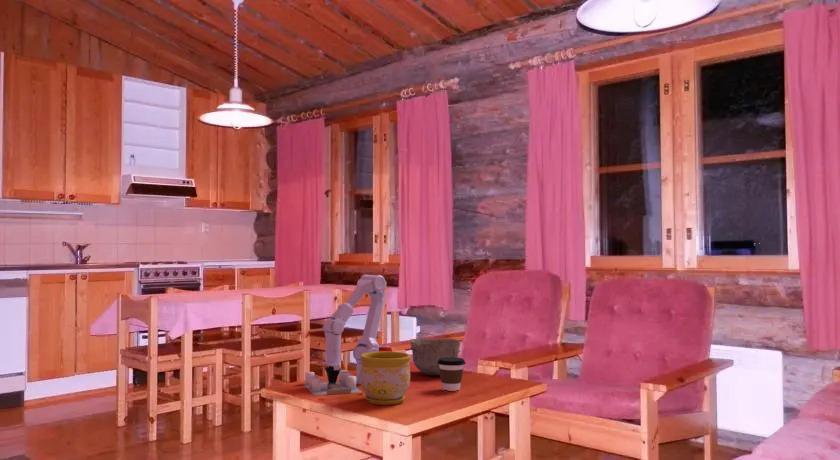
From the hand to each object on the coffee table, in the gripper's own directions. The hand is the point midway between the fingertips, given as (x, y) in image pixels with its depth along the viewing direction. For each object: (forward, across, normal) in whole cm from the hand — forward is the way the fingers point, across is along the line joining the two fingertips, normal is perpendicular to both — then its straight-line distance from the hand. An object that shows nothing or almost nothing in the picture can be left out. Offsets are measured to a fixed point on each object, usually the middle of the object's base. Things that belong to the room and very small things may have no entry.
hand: (332, 386), depth 253 cm
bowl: (+2, -20, +50) cm, 54 cm away
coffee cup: (+2, +12, +44) cm, 46 cm away
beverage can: (+2, -29, +30) cm, 41 cm away
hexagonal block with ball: (+1, +3, 0) cm, 3 cm away
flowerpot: (+2, +22, +14) cm, 27 cm away
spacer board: (+2, -1, 0) cm, 2 cm away
